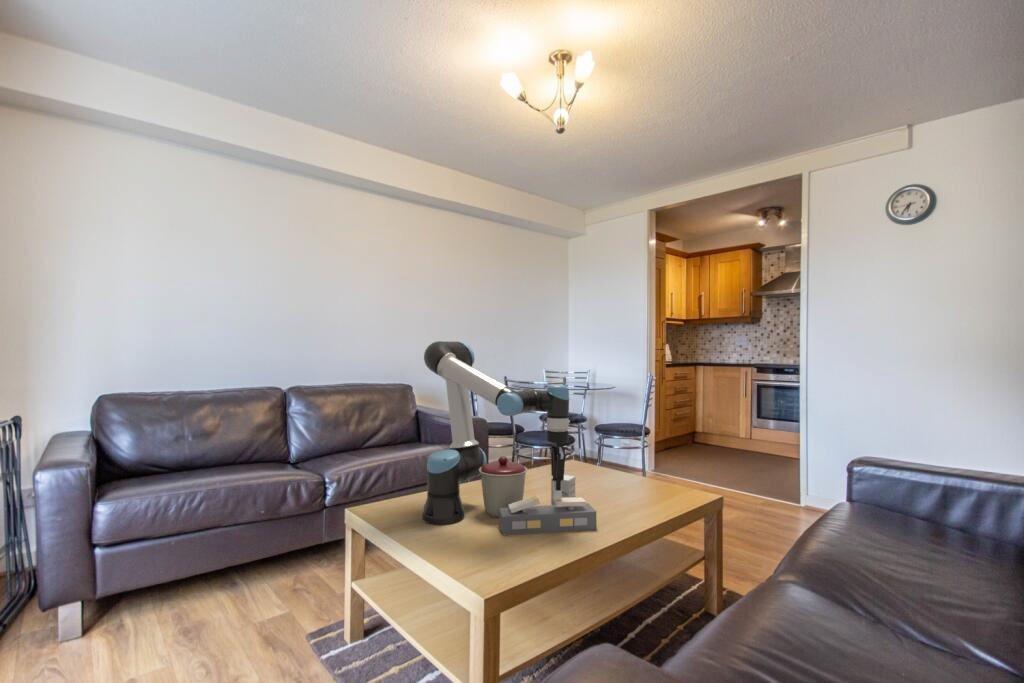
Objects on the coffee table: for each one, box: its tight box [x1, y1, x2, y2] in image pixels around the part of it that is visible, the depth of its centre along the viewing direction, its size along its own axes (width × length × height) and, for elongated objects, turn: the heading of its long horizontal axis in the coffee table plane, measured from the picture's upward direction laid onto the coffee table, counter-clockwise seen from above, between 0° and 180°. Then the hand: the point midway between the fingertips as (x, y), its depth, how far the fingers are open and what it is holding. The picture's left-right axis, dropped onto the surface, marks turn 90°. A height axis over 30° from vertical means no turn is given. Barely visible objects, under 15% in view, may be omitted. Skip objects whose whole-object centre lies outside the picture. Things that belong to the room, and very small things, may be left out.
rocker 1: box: [509, 494, 540, 513], centre depth 161 cm, size 10×5×2 cm, turn 99°
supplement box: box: [550, 474, 576, 505], centre depth 180 cm, size 7×7×13 cm
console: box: [498, 502, 598, 536], centre depth 162 cm, size 32×9×8 cm, turn 98°
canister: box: [479, 456, 528, 519], centre depth 176 cm, size 18×18×21 cm
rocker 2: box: [554, 496, 587, 506], centre depth 163 cm, size 10×5×2 cm, turn 98°
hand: (557, 499), depth 162 cm, fingers closed
